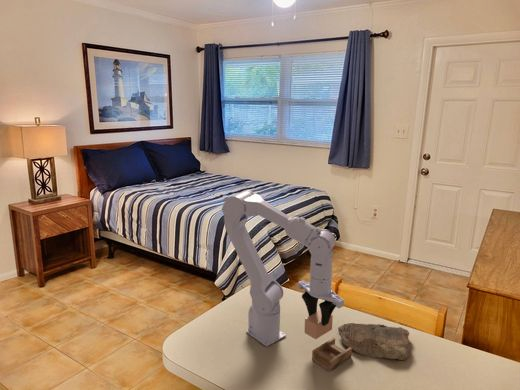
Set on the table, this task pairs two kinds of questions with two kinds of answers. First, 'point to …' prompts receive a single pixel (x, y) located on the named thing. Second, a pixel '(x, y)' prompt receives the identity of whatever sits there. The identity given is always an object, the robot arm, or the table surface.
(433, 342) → the table surface
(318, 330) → the clay bar
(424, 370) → the table surface
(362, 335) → the rough brown rock
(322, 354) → the rack
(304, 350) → the table surface
